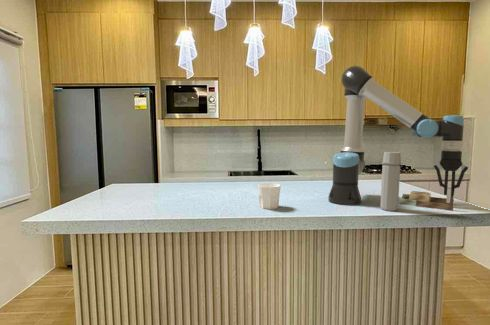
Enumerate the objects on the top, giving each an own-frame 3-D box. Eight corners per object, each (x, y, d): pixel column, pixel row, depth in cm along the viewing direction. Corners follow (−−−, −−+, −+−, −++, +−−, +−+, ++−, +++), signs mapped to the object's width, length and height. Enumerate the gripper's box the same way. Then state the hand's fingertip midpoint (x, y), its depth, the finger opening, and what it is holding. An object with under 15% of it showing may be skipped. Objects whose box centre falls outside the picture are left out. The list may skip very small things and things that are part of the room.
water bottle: (401, 212, 128) (404, 153, 126) (381, 211, 130) (384, 152, 127) (395, 206, 137) (398, 151, 135) (376, 205, 139) (379, 151, 136)
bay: (398, 204, 143) (399, 193, 142) (402, 198, 154) (403, 188, 154) (452, 210, 131) (453, 199, 130) (452, 204, 142) (453, 193, 142)
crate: (408, 204, 143) (409, 193, 142) (411, 201, 149) (411, 190, 149) (428, 207, 138) (429, 195, 137) (430, 203, 144) (430, 192, 144)
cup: (254, 208, 134) (255, 186, 133) (261, 203, 143) (261, 182, 142) (277, 210, 130) (277, 187, 129) (282, 205, 140) (282, 184, 138)
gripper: (434, 150, 136) (431, 202, 138) (470, 151, 128) (466, 205, 131) (434, 149, 142) (431, 199, 144) (469, 150, 135) (465, 202, 137)
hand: (448, 202), depth 137 cm, fingers closed
